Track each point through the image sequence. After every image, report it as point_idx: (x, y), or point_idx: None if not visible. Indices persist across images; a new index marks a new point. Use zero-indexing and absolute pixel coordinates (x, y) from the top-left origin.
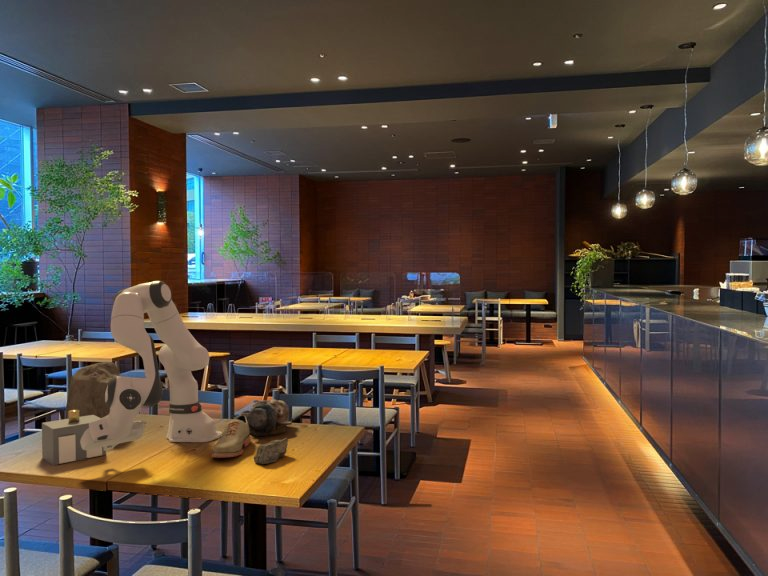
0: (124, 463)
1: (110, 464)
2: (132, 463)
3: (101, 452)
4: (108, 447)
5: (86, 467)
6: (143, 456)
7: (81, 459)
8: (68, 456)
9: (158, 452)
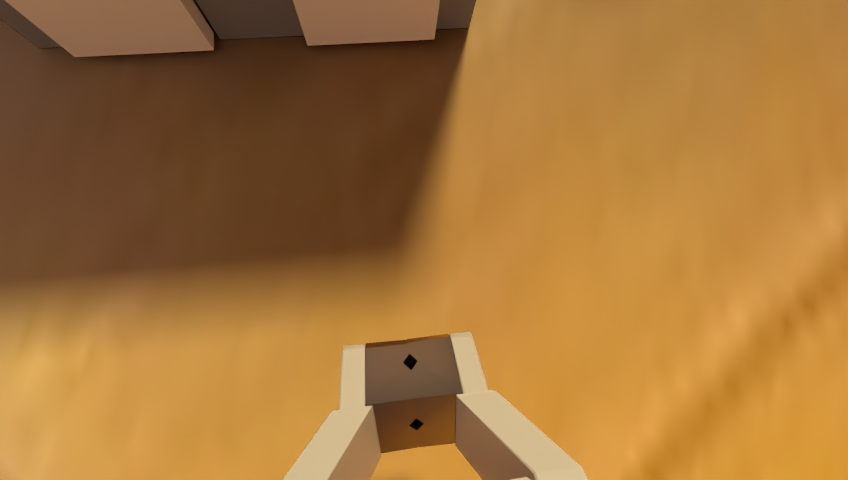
0: (536, 387)
1: (427, 334)
2: (596, 438)
3: (430, 23)
4: (400, 447)
5: (233, 286)
6: (716, 277)
7: (269, 35)
8: (121, 17)
9: (843, 241)
